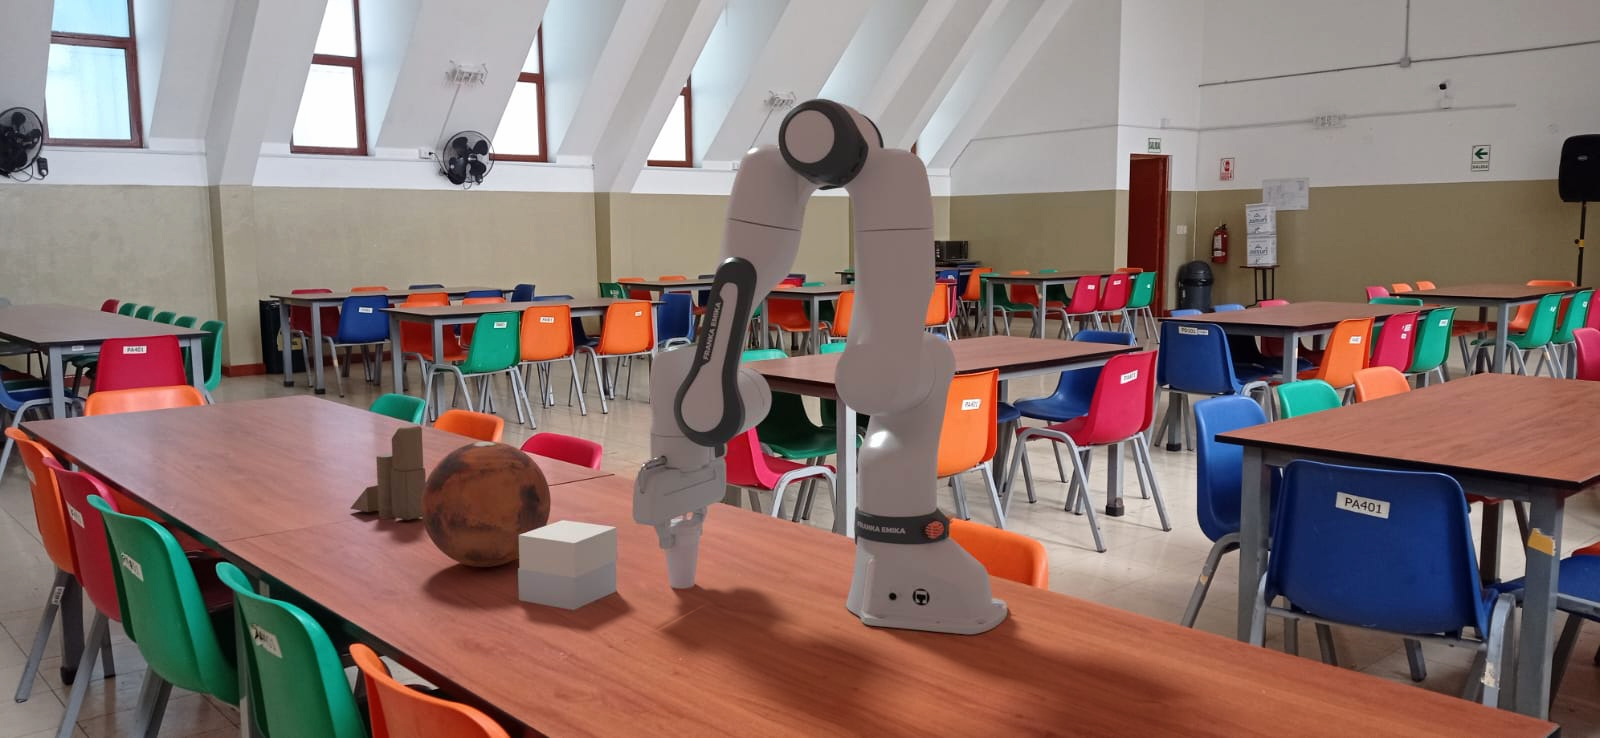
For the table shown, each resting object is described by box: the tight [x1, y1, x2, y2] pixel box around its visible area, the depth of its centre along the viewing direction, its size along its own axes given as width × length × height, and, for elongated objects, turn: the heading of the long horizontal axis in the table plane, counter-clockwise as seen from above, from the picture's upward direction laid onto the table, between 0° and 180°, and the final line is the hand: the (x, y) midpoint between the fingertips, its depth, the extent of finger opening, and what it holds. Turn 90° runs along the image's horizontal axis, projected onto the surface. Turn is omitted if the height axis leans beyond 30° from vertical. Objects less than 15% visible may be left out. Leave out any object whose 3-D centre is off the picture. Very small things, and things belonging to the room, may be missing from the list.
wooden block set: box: [349, 424, 427, 521], centre depth 216 cm, size 17×6×18 cm, turn 57°
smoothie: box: [664, 513, 704, 590], centre depth 171 cm, size 6×6×14 cm
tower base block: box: [517, 561, 618, 611], centre depth 167 cm, size 10×10×5 cm
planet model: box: [421, 441, 552, 568], centre depth 182 cm, size 20×20×20 cm
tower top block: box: [518, 519, 618, 578], centre depth 166 cm, size 10×10×5 cm
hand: (681, 542), depth 171 cm, fingers closed on smoothie, 6 cm apart
